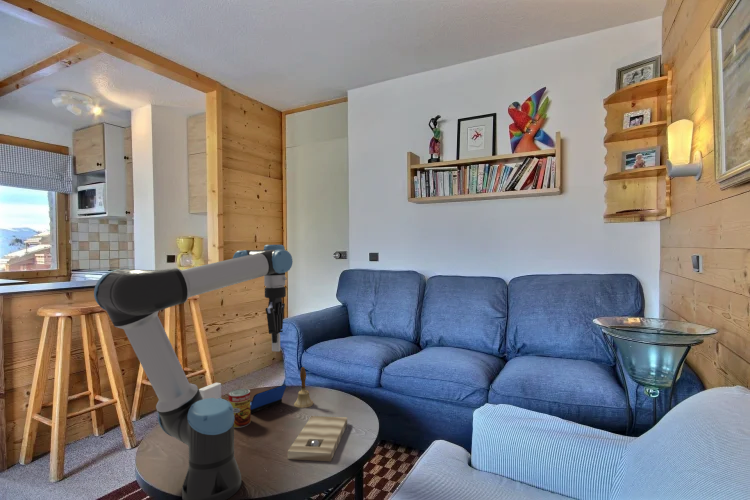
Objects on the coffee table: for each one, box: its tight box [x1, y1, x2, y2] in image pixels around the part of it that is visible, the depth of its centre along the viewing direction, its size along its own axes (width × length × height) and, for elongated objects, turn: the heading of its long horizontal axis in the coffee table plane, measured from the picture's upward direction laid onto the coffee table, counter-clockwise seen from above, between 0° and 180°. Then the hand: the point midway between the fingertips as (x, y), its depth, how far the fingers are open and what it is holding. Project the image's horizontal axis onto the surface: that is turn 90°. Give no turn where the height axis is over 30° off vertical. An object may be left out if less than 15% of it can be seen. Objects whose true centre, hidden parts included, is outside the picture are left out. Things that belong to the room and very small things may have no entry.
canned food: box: [228, 388, 252, 429], centre depth 148 cm, size 8×8×12 cm
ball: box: [309, 440, 320, 447], centre depth 127 cm, size 3×3×3 cm
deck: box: [287, 415, 348, 462], centre depth 133 cm, size 26×14×2 cm, turn 173°
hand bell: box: [293, 366, 314, 409], centre depth 165 cm, size 8×8×16 cm
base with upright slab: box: [198, 382, 223, 399], centre depth 155 cm, size 9×9×12 cm
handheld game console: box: [250, 384, 287, 414], centre depth 163 cm, size 16×13×9 cm
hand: (276, 350), depth 141 cm, fingers closed
